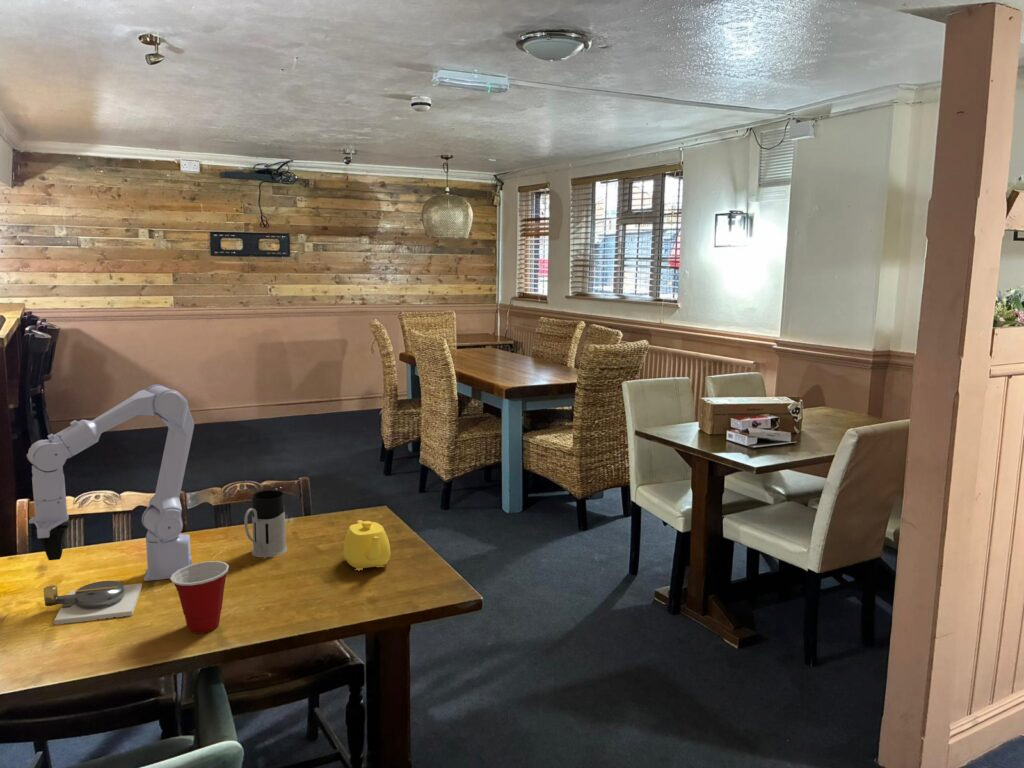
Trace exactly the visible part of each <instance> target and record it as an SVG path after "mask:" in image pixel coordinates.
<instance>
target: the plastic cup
mask: <svg viewBox="0 0 1024 768" xmlns="http://www.w3.org/2000/svg"><path fill="white" fill-rule="evenodd" d="M229 567H230V565H229V564H228V563H226V562H224V561H219V560H215V561H213V560H210V561H203V562H197V563H192V565H189V566H186V567H184V568H181V569H179V570H177V571H176V572H175V573H173V574H172V576H171V578H170V579H169V580H170V581H171V582H172V583H173V584H174V587H175V588H176V591H177V593H178V597H179V598H178V599H179V600H180V606H181V609H182V613H183V615H184V617H185V623H186V626H187V628H188V630H189V632H191V633H193V634H205V633H208V632H211V631H213V630H215V629H217V628H218V627H219V624H220V623H221V622H220V621H221V613H222V608H223V600H224V595H225V594H224V593H225V585H226V580H227V579H226V578H227V574H228V572H229Z"/></svg>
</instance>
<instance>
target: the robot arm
mask: <svg viewBox="0 0 1024 768" xmlns="http://www.w3.org/2000/svg"><path fill="white" fill-rule="evenodd" d="M155 415H156V416H158V417H159V418H160V420H161V421H162V422H163V423H164V424H165V425H166V426H167V428H168V429H167V435H166V440H165V444H164V450H163V454H162V459H161V464H160V469H159V472H158V478H157V483H156V488H155V493H154V495H153V496H152V497H151V498H150V499H149V503H148V506H147V508H146V509H145V510H144V512H143V513H142V516H141V523H142V525H143V527H144V528H145V529H147V532H146V535H145V544H146V545H145V548H146V562H147V563H146V564H147V565H146V566H147V570H146V572H145V575H144V579H143V581H144V582H147V581H148V582H150V581H160V580H167V579H168V580H171V579H170V578H171V576H172V574H173V573H175V572H176V571H177V570H179V569H181V568H184V567H186V566H189V565H192V564H193V557H192V552H191V551H192V550H191V549H192V548H191V546H192V545H191V537H190V534H182V530H183V527H184V523H183V518H182V511H183V509H182V503H181V501H180V496H181V491H182V486H183V481H184V476H185V472H186V469H187V468H186V466H187V462H188V457H189V454H190V453H189V452H190V449H191V443H192V439H193V435H194V434H193V433H194V429H195V420H194V419H193V416H192V414H191V410H190V408H189V401H188V400H187V399H186V398H185V397H184V396H183V395H182V393H180V392H179V391H177V390H175V389H172V388H168V387H166V386H164V385H162V384H152V385H150V386H148V387H147V388H145V389H141V390H140V391H137V392H136V393H135V394H133V395H131V396H129V397H128V398H127V399H125V400H123V401H122V402H120V403H119V404H117V405H115V406H114V407H112V408H110V409H108V410H107V411H105V412H104V413H102V414H100V415H98V416H97V417H96V418H94V419H93V420H87V419H81V420H77V419H74V420H73V421H71V422H70V423H69V425H70V426H68V427H66V428H64V429H62V430H61V431H59V432H56V433H55V434H53V433H50V434H48V435H47V438H48V439H39V440H37V441H35V442H34V443H32V444H31V445H30V447H29V448H28V453H27V454H26V458H27V460H28V461H29V463H30V464H32V465H31V474H32V476H31V481H32V494H33V496H32V497H33V505H34V506H33V507H34V517H33V516H32V517H31V518H29V520H28V524H34V525H35V526H36V529H35V530H34V536H35V537H37V539H38V540H39V541H40V543H41V545H42V547H43V549H44V552H45V555H46V557H47V560H48V561H57V560H61V558H62V554H63V550H64V542H65V539H66V538H65V537H66V534H67V531H68V530H69V529H68V528H69V527H70V522H69V521H68V520H69V519H70V518H69V516H70V515H69V513H68V506H67V494H66V482H65V474H64V467H63V466H65V463H66V461H67V460H68V459H70V458H72V457H74V456H76V455H77V454H79V453H81V452H83V451H84V450H87V449H88V448H90V447H92V446H93V445H95V444H96V443H98V442H99V440H100V437H101V435H102V433H105V432H106V431H109V430H111V429H113V428H115V427H117V426H118V425H121V424H123V423H124V422H126V421H128V420H130V419H132V418H134V417H136V416H147V417H148V416H149V417H154V416H155Z"/></svg>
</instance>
